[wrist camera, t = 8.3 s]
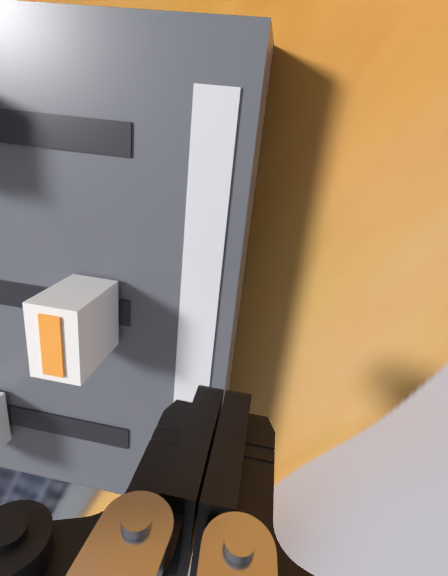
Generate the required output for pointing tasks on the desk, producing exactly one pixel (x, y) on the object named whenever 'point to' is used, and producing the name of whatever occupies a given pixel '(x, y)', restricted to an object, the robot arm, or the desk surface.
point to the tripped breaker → (71, 328)
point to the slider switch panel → (124, 214)
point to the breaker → (4, 422)
